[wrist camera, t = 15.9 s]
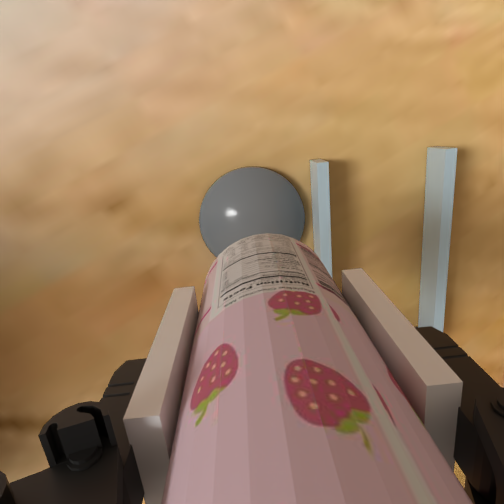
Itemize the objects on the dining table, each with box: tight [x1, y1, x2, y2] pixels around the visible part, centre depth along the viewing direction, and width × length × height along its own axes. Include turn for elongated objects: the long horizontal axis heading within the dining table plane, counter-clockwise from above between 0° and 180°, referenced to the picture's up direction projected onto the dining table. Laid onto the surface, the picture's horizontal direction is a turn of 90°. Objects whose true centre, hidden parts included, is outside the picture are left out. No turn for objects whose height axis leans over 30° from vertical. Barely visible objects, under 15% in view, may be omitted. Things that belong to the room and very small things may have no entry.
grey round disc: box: [199, 167, 305, 257], centre depth 28 cm, size 8×8×1 cm
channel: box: [310, 146, 457, 332], centre depth 29 cm, size 10×16×2 cm, turn 6°
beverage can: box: [161, 233, 473, 504], centre depth 10 cm, size 6×6×15 cm
